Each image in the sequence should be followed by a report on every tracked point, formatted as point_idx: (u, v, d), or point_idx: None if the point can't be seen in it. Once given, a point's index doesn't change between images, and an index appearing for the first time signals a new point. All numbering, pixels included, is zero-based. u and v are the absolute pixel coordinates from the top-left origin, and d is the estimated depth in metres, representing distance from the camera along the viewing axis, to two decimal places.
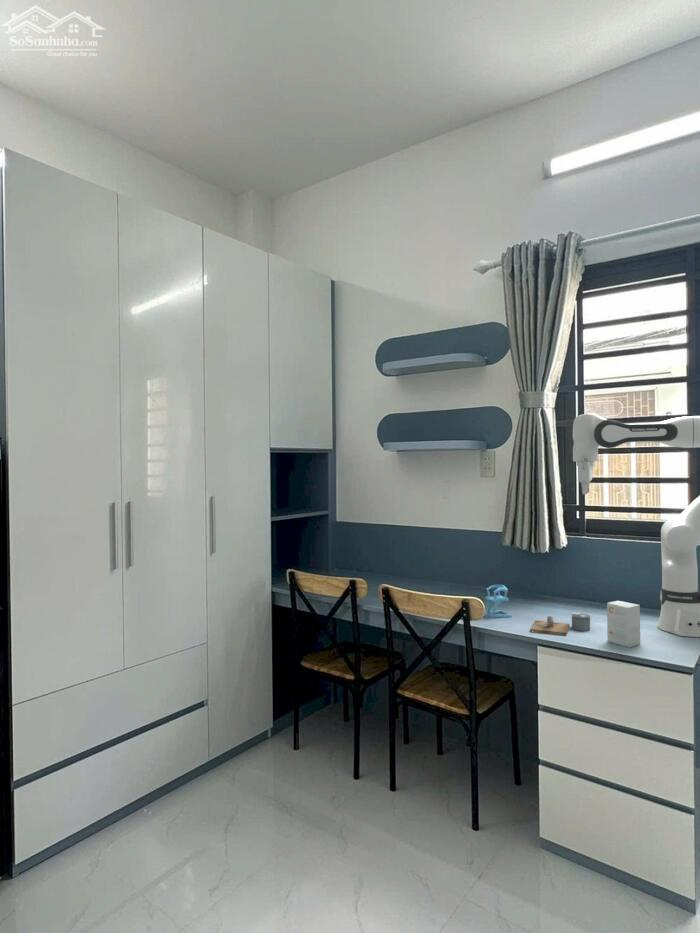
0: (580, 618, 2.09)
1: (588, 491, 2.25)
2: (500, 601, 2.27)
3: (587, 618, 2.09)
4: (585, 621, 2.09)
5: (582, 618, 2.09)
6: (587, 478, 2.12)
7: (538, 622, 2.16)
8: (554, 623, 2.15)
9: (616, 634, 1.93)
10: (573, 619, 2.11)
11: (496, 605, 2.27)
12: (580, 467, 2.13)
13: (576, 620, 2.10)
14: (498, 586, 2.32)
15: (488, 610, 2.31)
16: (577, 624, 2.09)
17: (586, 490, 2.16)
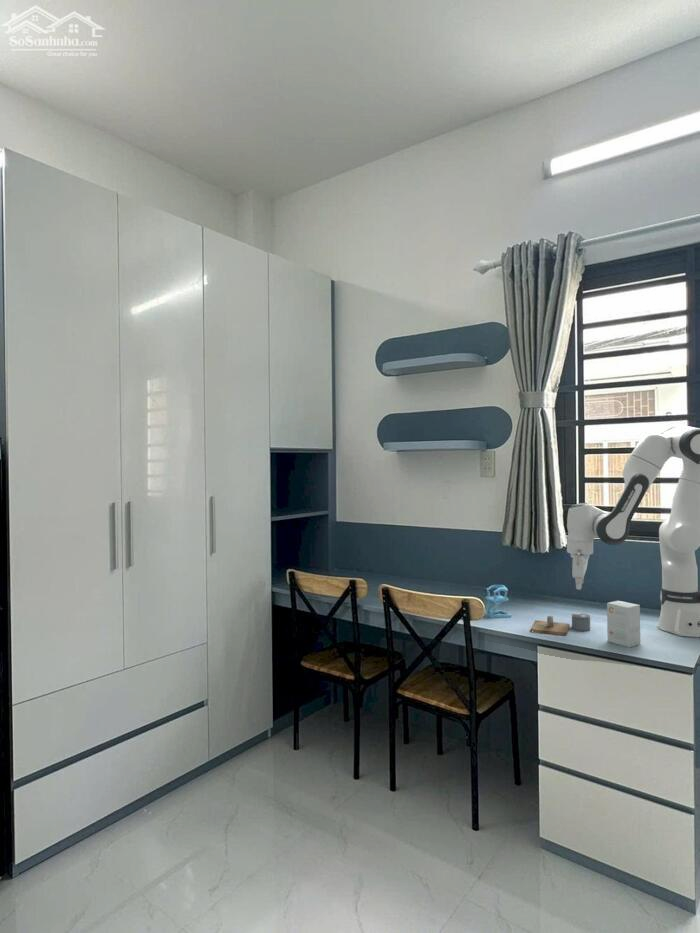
0: (580, 618, 2.09)
1: (582, 582, 2.15)
2: (500, 601, 2.27)
3: (587, 618, 2.09)
4: (585, 621, 2.09)
5: (582, 618, 2.09)
6: (581, 575, 2.02)
7: (538, 622, 2.16)
8: (554, 623, 2.15)
9: (616, 634, 1.93)
10: (573, 619, 2.11)
11: (496, 605, 2.27)
12: (574, 562, 2.03)
13: (576, 620, 2.10)
14: (498, 586, 2.32)
15: (488, 610, 2.31)
16: (577, 624, 2.09)
17: (580, 585, 2.06)
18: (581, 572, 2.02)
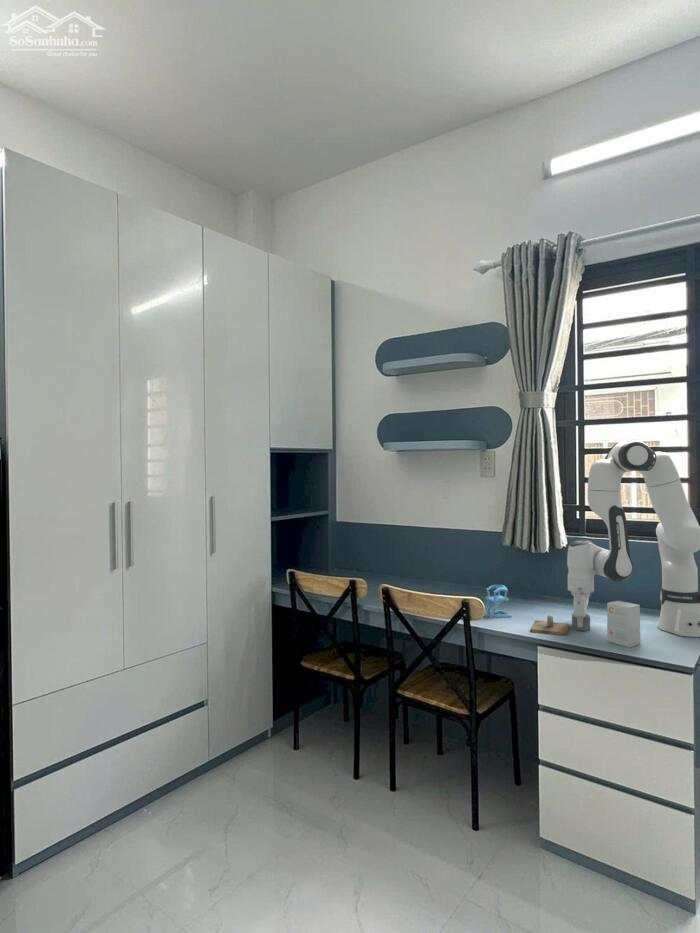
0: None
1: None
2: (500, 601, 2.27)
3: (587, 618, 2.09)
4: (585, 621, 2.09)
5: None
6: (582, 614, 2.02)
7: (538, 622, 2.16)
8: (554, 623, 2.15)
9: (616, 634, 1.93)
10: (573, 619, 2.11)
11: (496, 605, 2.27)
12: (575, 601, 2.03)
13: (576, 620, 2.10)
14: (498, 586, 2.32)
15: (488, 610, 2.31)
16: None
17: (581, 623, 2.07)
18: (582, 611, 2.02)
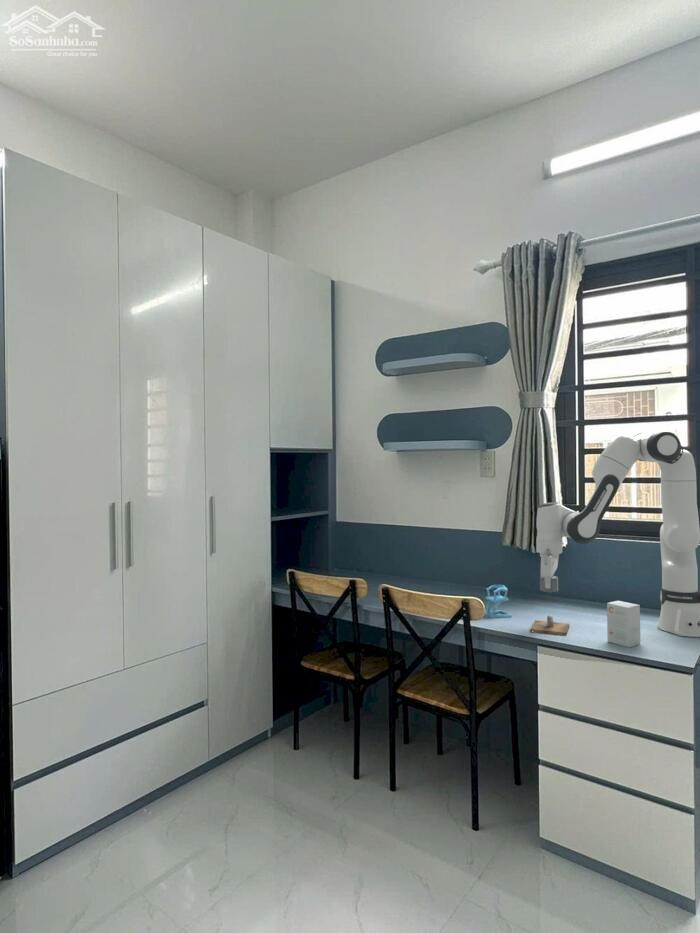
0: None
1: None
2: (500, 601, 2.27)
3: (555, 579, 2.09)
4: (553, 582, 2.08)
5: None
6: (549, 574, 2.02)
7: (538, 622, 2.16)
8: (554, 623, 2.15)
9: (616, 634, 1.93)
10: (541, 581, 2.11)
11: (496, 605, 2.27)
12: (542, 562, 2.03)
13: (544, 581, 2.09)
14: (498, 586, 2.32)
15: (488, 610, 2.31)
16: None
17: (549, 584, 2.07)
18: (549, 571, 2.02)
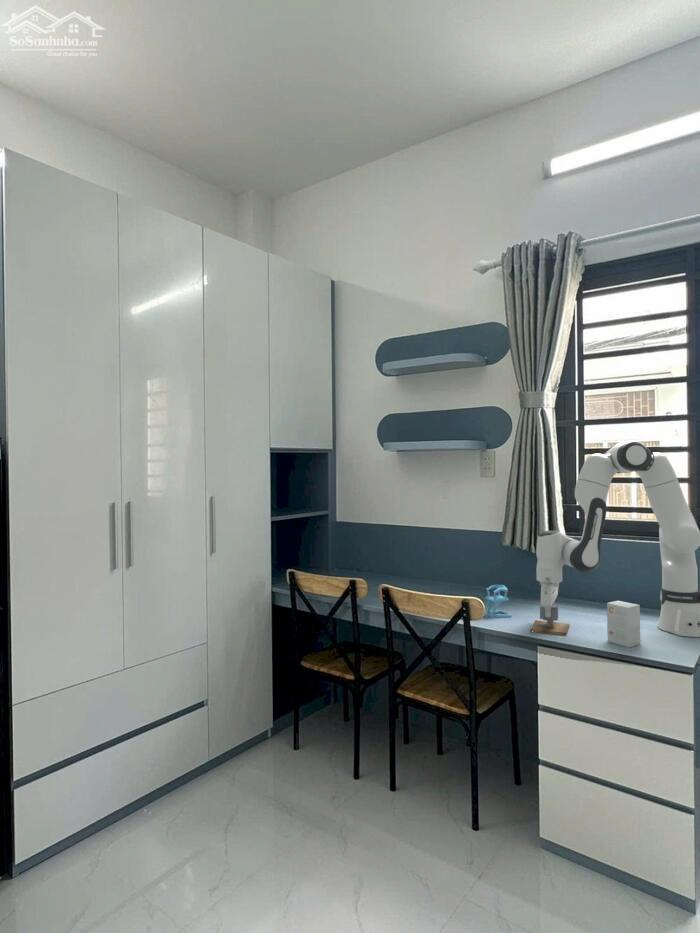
0: None
1: None
2: (500, 601, 2.27)
3: (555, 608, 2.09)
4: (553, 611, 2.09)
5: None
6: (549, 604, 2.02)
7: (538, 622, 2.16)
8: (554, 623, 2.15)
9: (616, 634, 1.93)
10: (541, 609, 2.11)
11: (496, 605, 2.27)
12: (542, 591, 2.03)
13: (544, 610, 2.10)
14: (498, 586, 2.32)
15: (488, 610, 2.31)
16: None
17: (549, 613, 2.07)
18: (549, 601, 2.02)
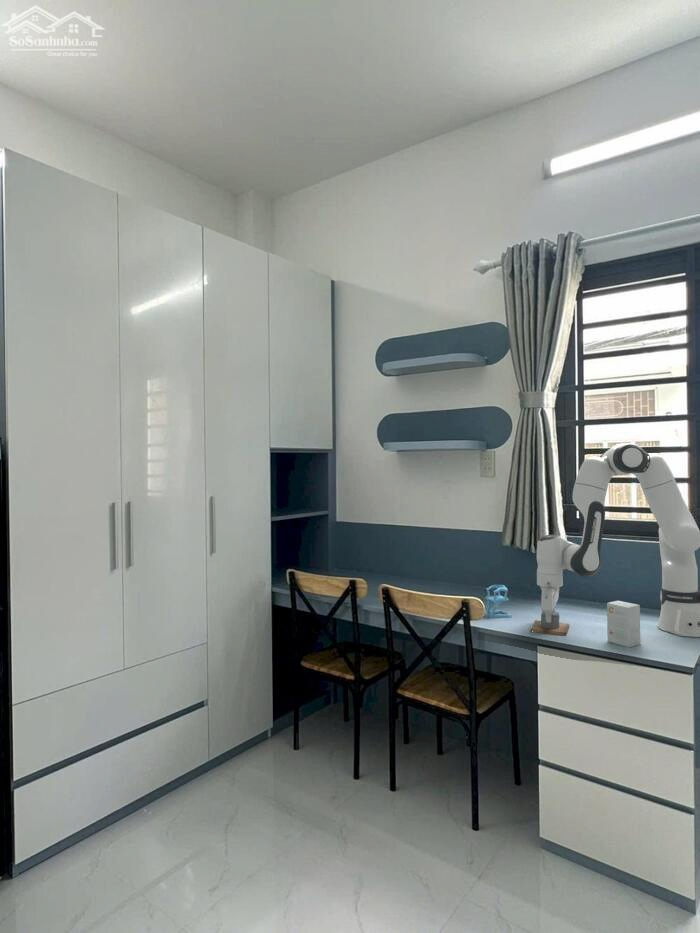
0: None
1: None
2: (500, 601, 2.27)
3: (556, 616, 2.09)
4: (554, 619, 2.08)
5: (551, 616, 2.08)
6: (550, 608, 2.02)
7: (538, 622, 2.16)
8: None
9: (616, 634, 1.93)
10: (542, 617, 2.11)
11: (496, 605, 2.27)
12: (543, 596, 2.03)
13: (545, 618, 2.09)
14: (498, 586, 2.32)
15: (488, 610, 2.31)
16: (546, 622, 2.09)
17: (550, 618, 2.06)
18: (550, 606, 2.02)
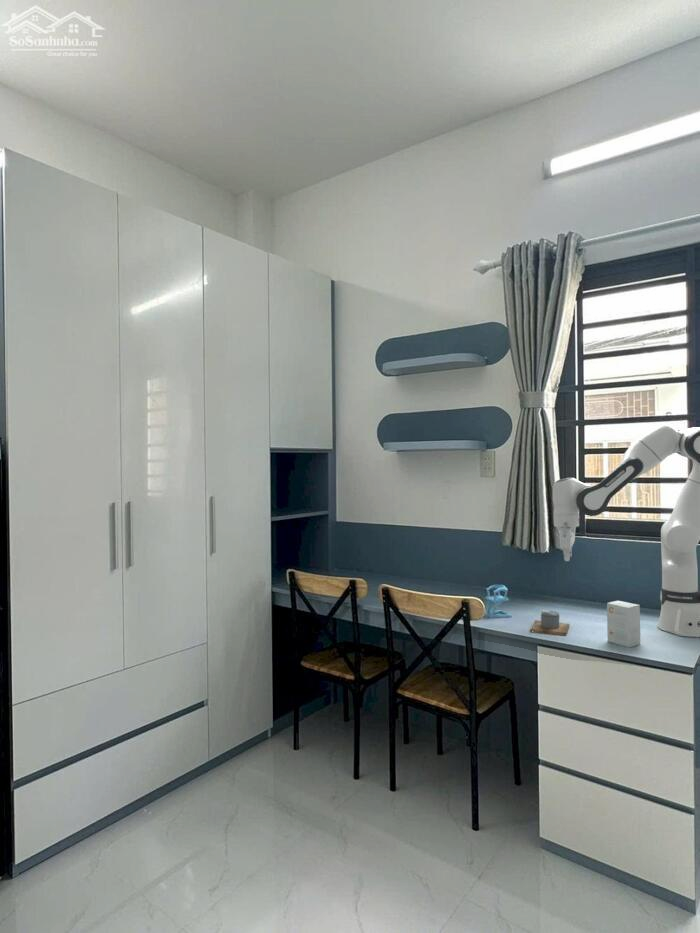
0: (549, 616, 2.09)
1: (570, 555, 2.22)
2: (500, 601, 2.27)
3: (556, 616, 2.09)
4: (554, 619, 2.08)
5: (551, 616, 2.08)
6: (568, 546, 2.09)
7: (538, 622, 2.16)
8: None
9: (616, 634, 1.93)
10: (542, 617, 2.11)
11: (496, 605, 2.27)
12: (561, 534, 2.10)
13: (545, 618, 2.09)
14: (498, 586, 2.32)
15: (488, 610, 2.31)
16: (546, 622, 2.09)
17: (568, 557, 2.13)
18: (568, 543, 2.09)
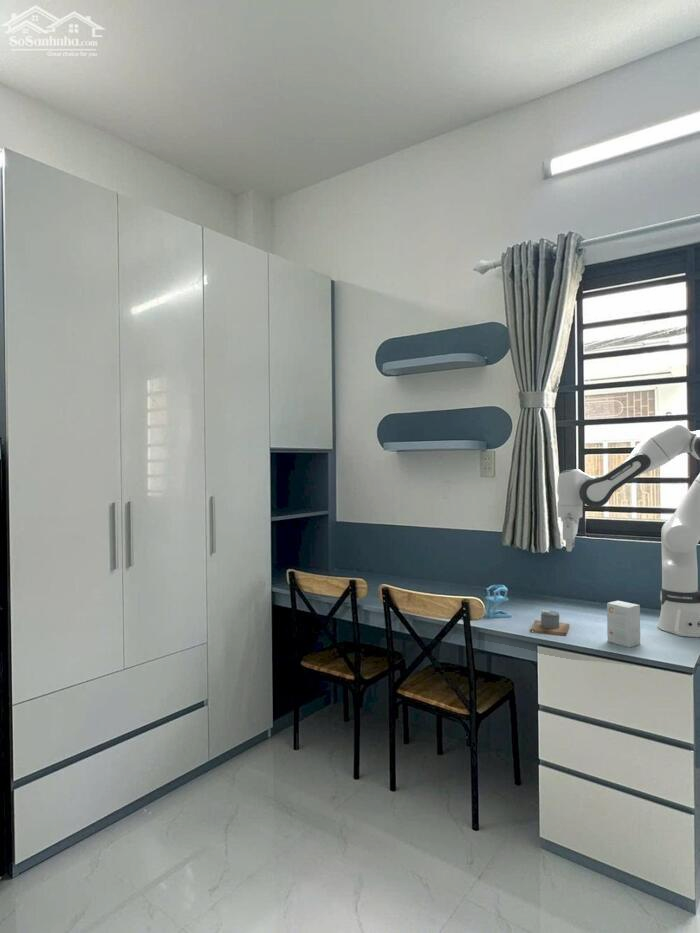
0: (549, 616, 2.09)
1: (573, 546, 2.23)
2: (500, 601, 2.27)
3: (556, 616, 2.09)
4: (554, 619, 2.08)
5: (551, 616, 2.08)
6: (571, 536, 2.11)
7: (538, 622, 2.16)
8: None
9: (616, 634, 1.93)
10: (542, 617, 2.11)
11: (496, 605, 2.27)
12: (564, 525, 2.12)
13: (545, 618, 2.09)
14: (498, 586, 2.32)
15: (488, 610, 2.31)
16: (546, 622, 2.09)
17: (570, 547, 2.15)
18: (571, 534, 2.11)
